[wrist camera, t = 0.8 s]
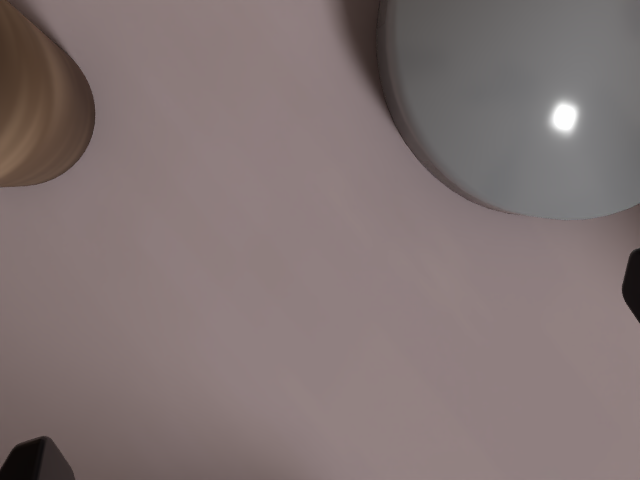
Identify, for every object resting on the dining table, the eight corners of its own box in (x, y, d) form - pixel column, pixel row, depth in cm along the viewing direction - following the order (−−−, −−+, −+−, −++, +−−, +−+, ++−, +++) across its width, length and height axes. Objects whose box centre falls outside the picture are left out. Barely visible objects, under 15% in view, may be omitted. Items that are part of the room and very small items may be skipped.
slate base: (651, 239, 25) (700, 245, 22) (347, 185, 22) (365, 185, 20) (719, -85, 24) (778, -115, 21) (411, -180, 21) (438, -227, 19)
